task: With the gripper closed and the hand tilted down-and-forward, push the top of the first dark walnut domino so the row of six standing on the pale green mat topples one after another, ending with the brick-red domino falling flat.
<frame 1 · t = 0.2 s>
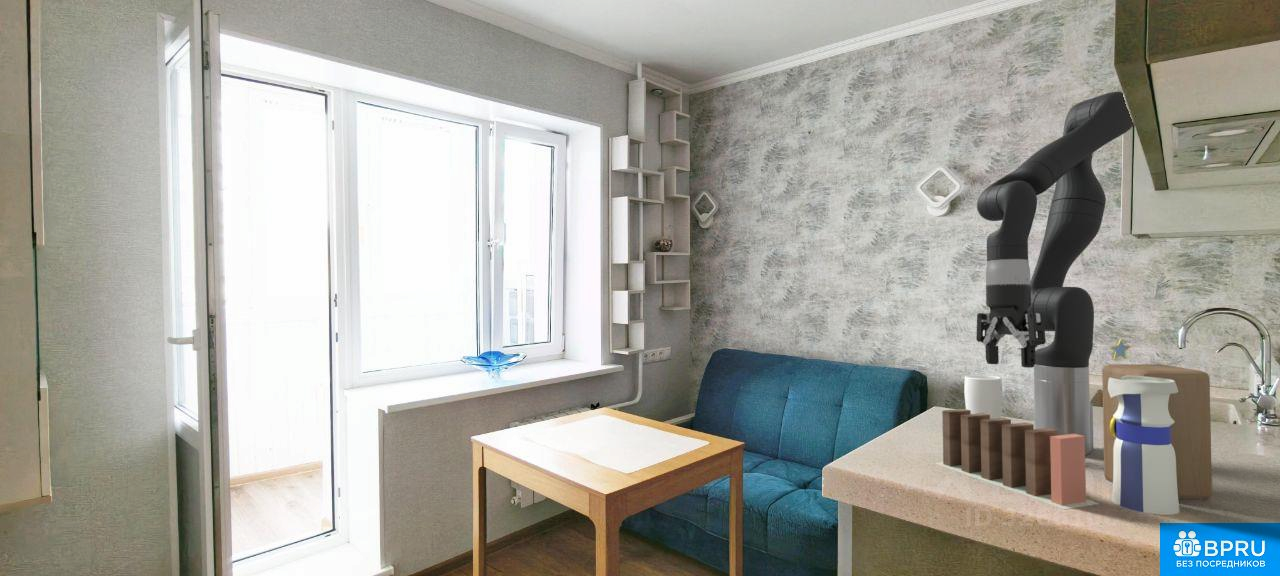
hand: (1009, 365, 116), 18 cm above the countertop, tool pointing down, fingers open, 8 cm apart
domino 3: (996, 477, 102), resting on mat
domino 5: (1042, 492, 94), resting on mat
mat: (1007, 483, 100), on the countertop
domino 6: (1068, 501, 90), resting on mat
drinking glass: (984, 451, 121), on the countertop
white and blue jug: (1142, 508, 88), on the countertop
domino 4: (1018, 484, 98), resting on mat
domino 2: (976, 470, 106), resting on mat
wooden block: (1155, 491, 96), on the countertop
domino 1: (957, 464, 110), resting on mat
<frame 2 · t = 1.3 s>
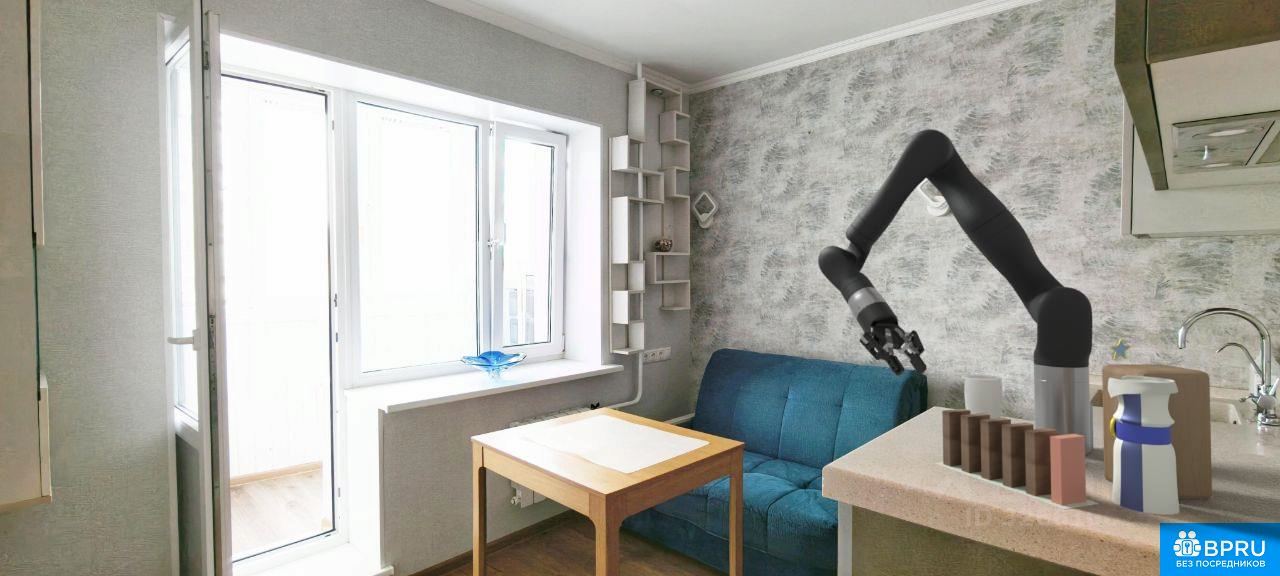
hand: (912, 372, 121), 16 cm above the countertop, tool tilted 45°, fingers open, 5 cm apart
nothing on the countertop moved.
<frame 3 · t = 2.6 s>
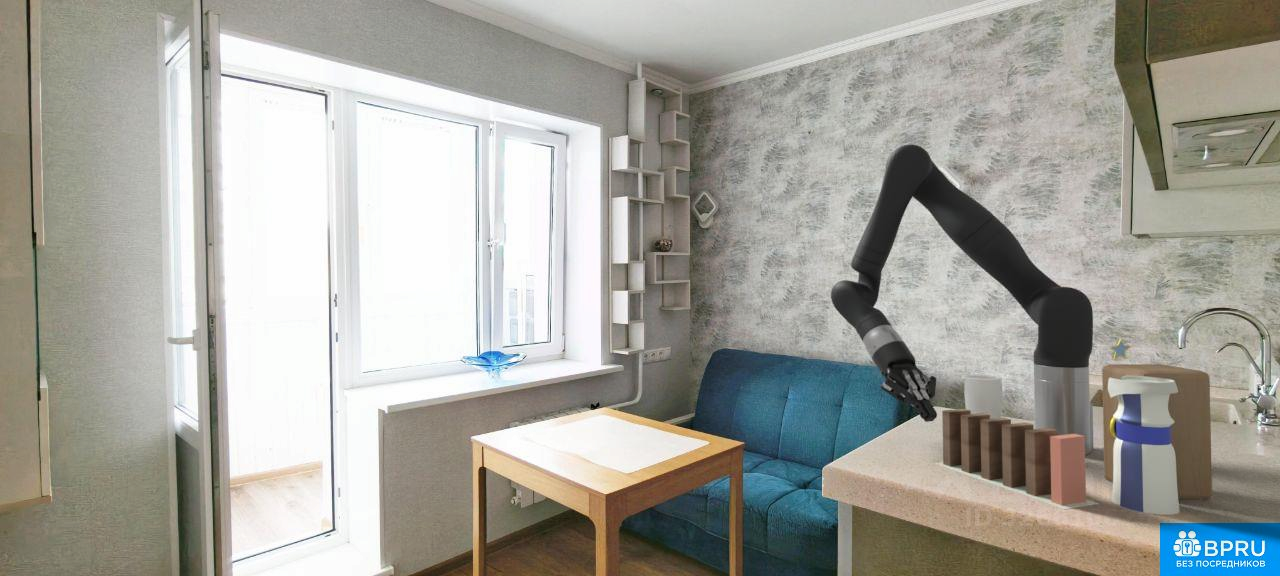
hand: (931, 419, 116), 8 cm above the countertop, tool tilted 45°, fingers closed
nothing on the countertop moved.
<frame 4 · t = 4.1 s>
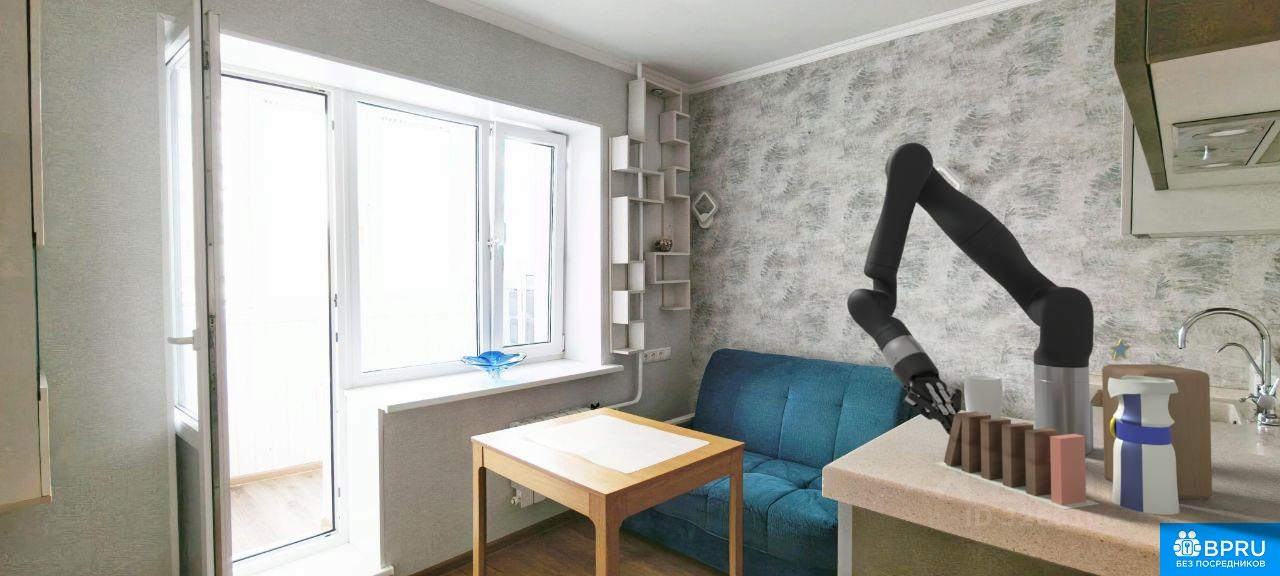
hand: (958, 435, 110), 6 cm above the countertop, tool tilted 45°, fingers closed
domino 1: (957, 462, 110), point 1 cm above the countertop, tilted 16°, touching gripper, mat
everything else where it was.
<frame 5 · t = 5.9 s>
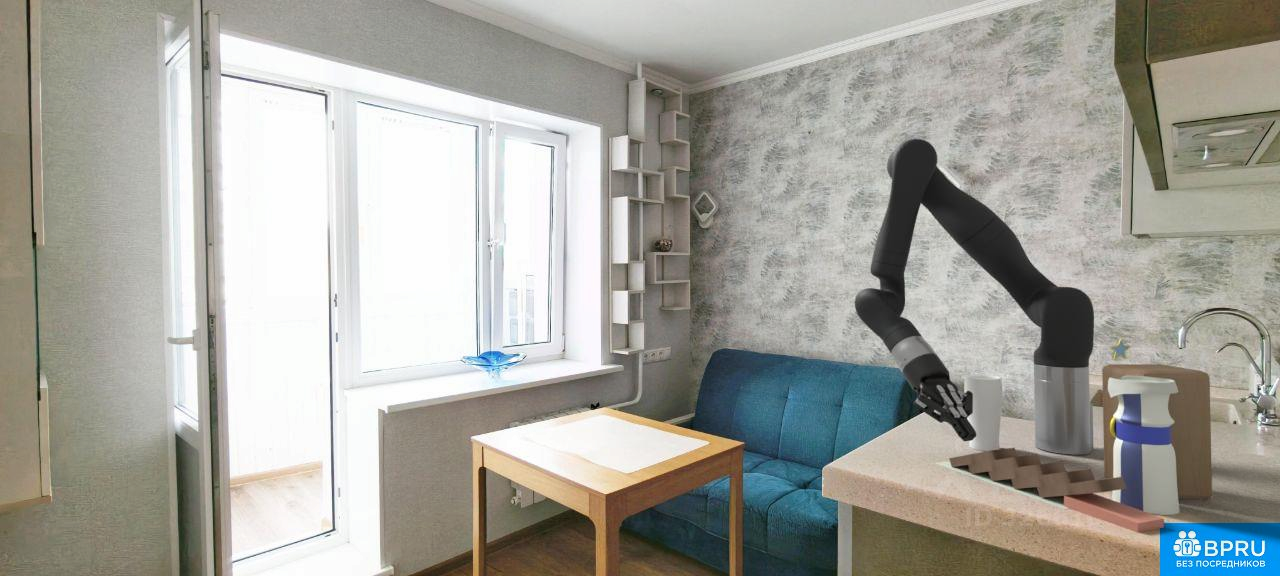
hand: (970, 438, 107), 6 cm above the countertop, tool tilted 45°, fingers closed
domino 3: (1001, 474, 101), point 1 cm above the countertop, tilted 68°, touching domino 2, domino 4, mat
domino 5: (1050, 490, 93), point 1 cm above the countertop, tilted 68°, touching domino 4, domino 6
domino 6: (1076, 498, 89), point 1 cm above the countertop, tilted 93°, touching domino 5, mat
domino 4: (1024, 482, 97), point 1 cm above the countertop, tilted 68°, touching domino 3, domino 5, mat
domino 2: (980, 467, 105), point 1 cm above the countertop, tilted 68°, touching domino 1, domino 3
domino 1: (961, 461, 109), point 1 cm above the countertop, tilted 68°, touching domino 2, mat
everything else where it was.
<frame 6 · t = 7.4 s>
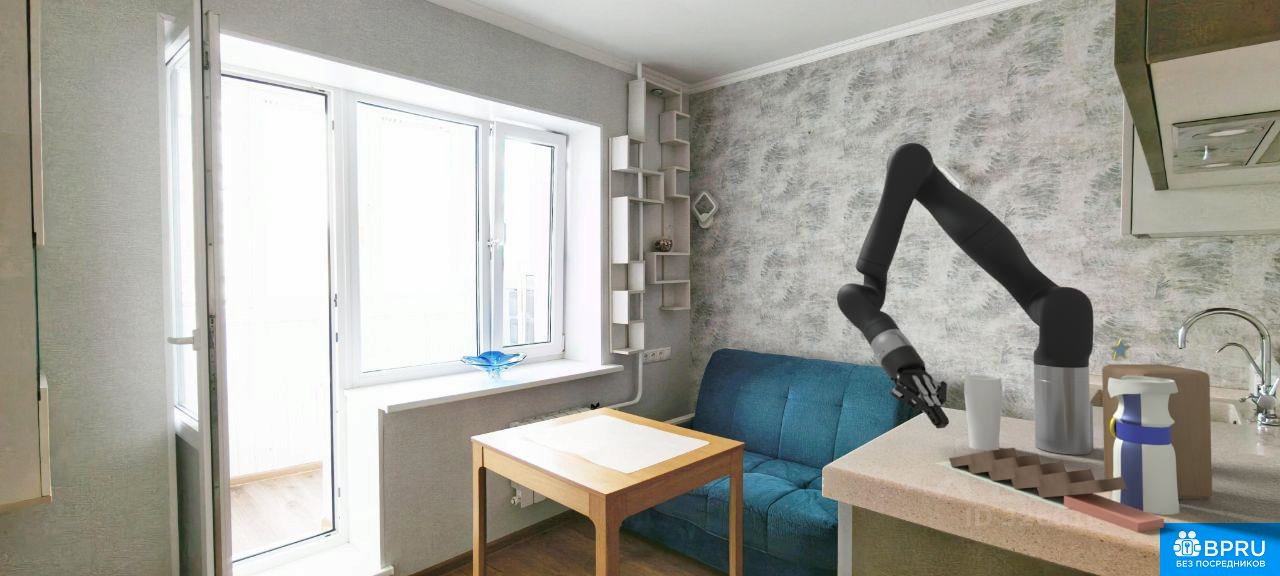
hand: (943, 425, 113), 7 cm above the countertop, tool tilted 45°, fingers closed
nothing on the countertop moved.
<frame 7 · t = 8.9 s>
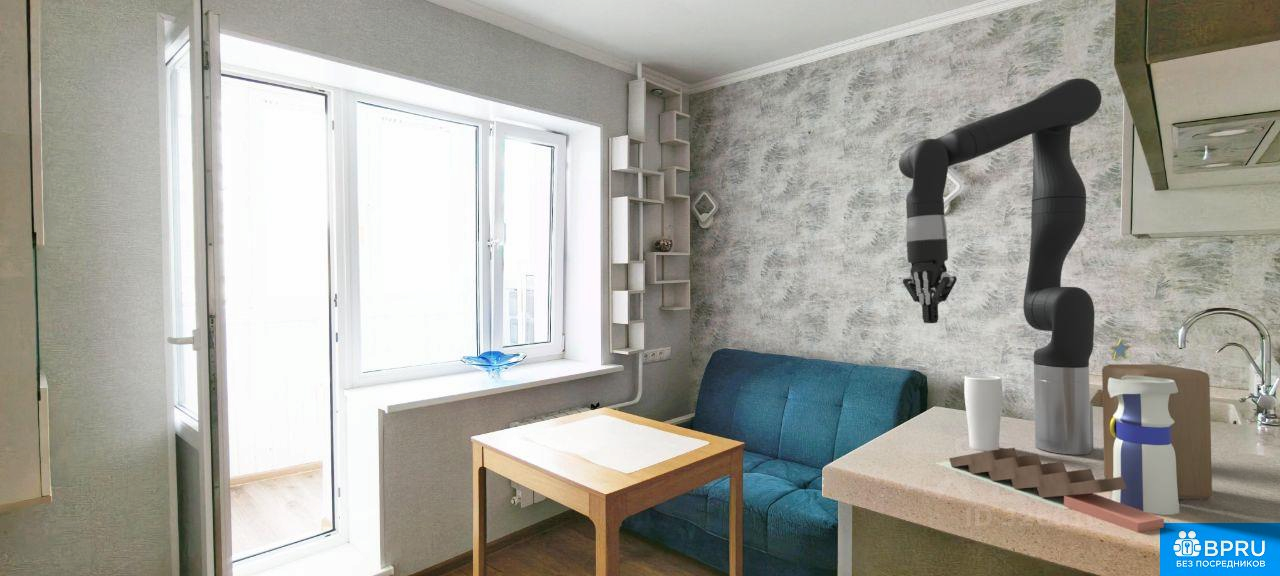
hand: (930, 322, 121), 26 cm above the countertop, tool pointing down, fingers closed
nothing on the countertop moved.
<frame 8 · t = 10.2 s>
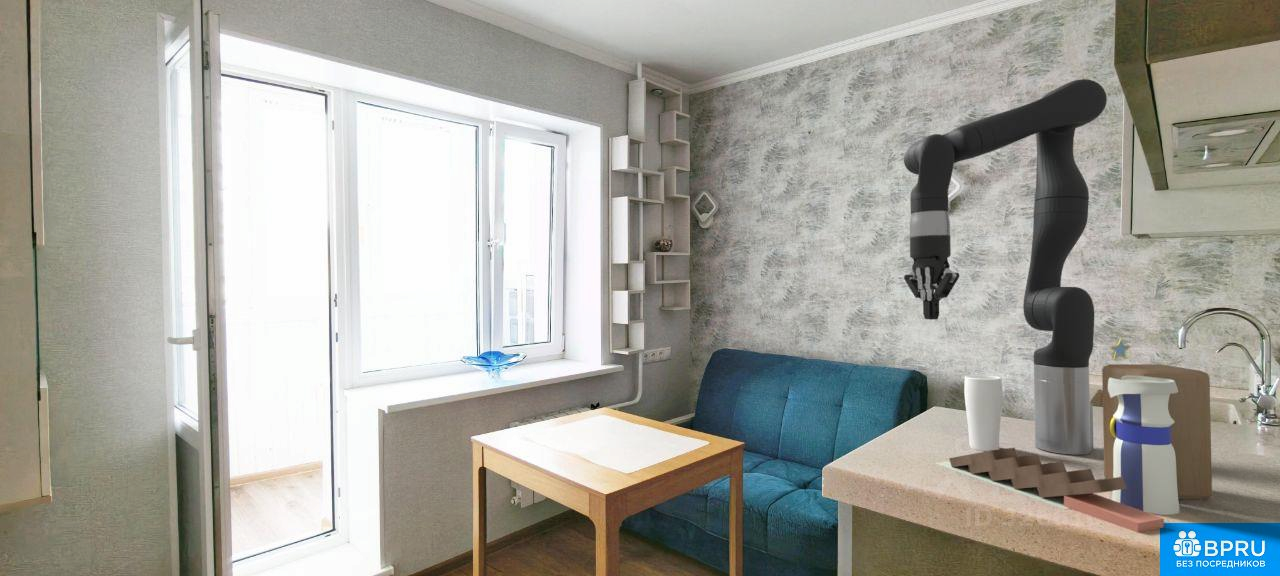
hand: (931, 319, 121), 27 cm above the countertop, tool pointing down, fingers closed
nothing on the countertop moved.
at the end: domino 6 tilted 93°; domino 1 tilted 68° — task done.
